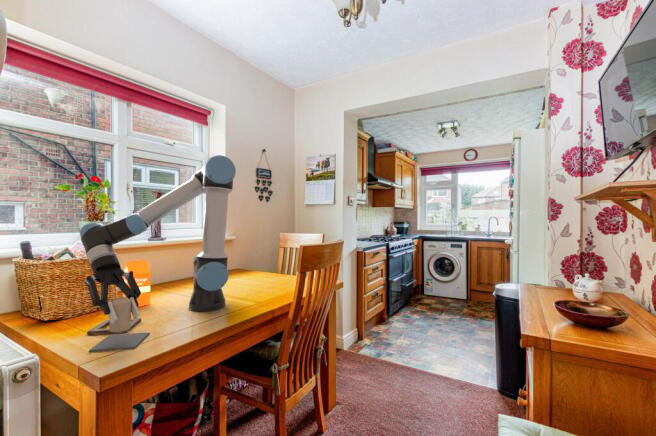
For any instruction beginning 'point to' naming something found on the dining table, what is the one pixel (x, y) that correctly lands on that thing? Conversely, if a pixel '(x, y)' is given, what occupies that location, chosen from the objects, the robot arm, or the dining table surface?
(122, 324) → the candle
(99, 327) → the grey square frame
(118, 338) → the charcoal mat
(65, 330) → the dining table surface
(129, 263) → the orange juice
